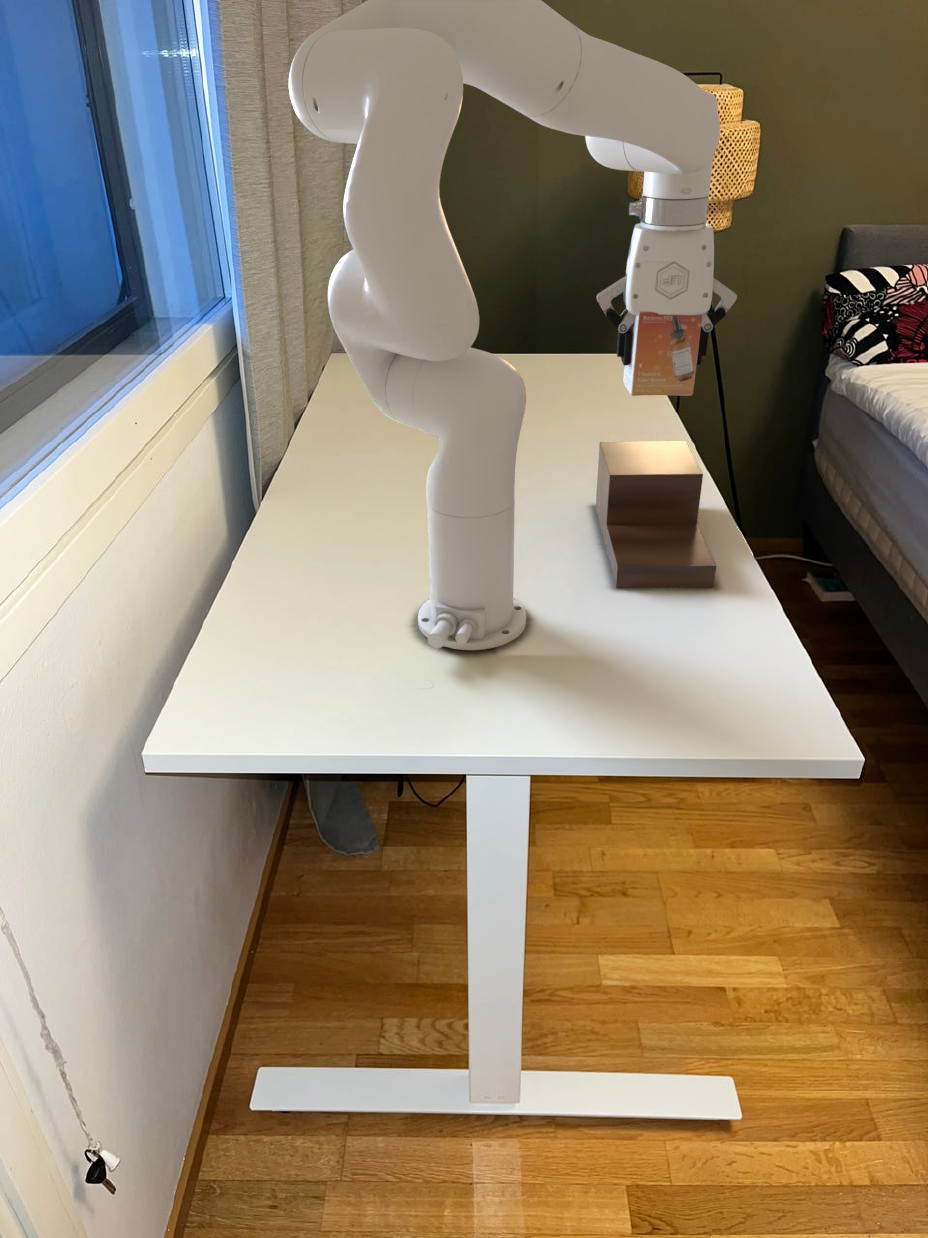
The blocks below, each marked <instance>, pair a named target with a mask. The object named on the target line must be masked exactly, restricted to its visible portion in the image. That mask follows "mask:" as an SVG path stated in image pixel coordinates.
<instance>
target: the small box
mask: <svg viewBox="0 0 928 1238" xmlns="http://www.w3.org/2000/svg"><path fill="white" fill-rule="evenodd" d="M701 323H702V314H701V315H659V314H658V313H655V312H644V311H639V314H638V316H635V321H634V323H633V324H632V325H631V327H630V332H631V334H632V340H631V354H630V364H628V365H624V368H623V380H622V383H623V385H624V387H625V389H626V390H627V391H628V393H629V395H630V396H631V397H638V396H639V397H640V396H684V397H685V396H686V397H688V396H689V397H690V396H693V394H694V389H695V382H696V381H695V380H696V372H697V365H696V364H697V356H698V348H699V339H700V331H701Z"/></svg>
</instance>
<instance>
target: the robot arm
mask: <svg viewBox="0 0 928 1238" xmlns="http://www.w3.org/2000/svg"><path fill="white" fill-rule="evenodd" d="M464 85H468V86H471V87H475V88H476V89H478V90H480V91H482V92H484V93H486V94H487V95H489V96H491V97H492V98H494V99H496V100H498V101H499V102H501V103H503V104H505V105H507V106H508V107H510V108H511V109H513V110H515V111H516V112H518V113H521V114H522V115H523V116H525V117H526V118H529V119H530V120H531V121H533V122H535V123H537V124H539V125H541V126H543V127H546V128H549V129H552V130H556V131H559V132H562V133H566V134H571V135H577V136H582V137H584V138H585V144H586V149H587V151H588V152H589V155H590V156H591V158H593V159H594V160H595V161H596V162H597V163H598V164H600V165H601V166H603V167H606V168H608V169H612V170H616V171H629V172H640V173H641V172H643V186H642V194H641V197H640V198H639V200H637V201H635V202H629V204H628V215H629V216H635V217H638V219H639V220H640V222H639V223H636V224H634V226H633V231H632V236H631V239H630V244H629V249H628V253H627V254H628V256H627V261H626V266H625V267H626V269H625V275H624V276H623V277H622V278H620V279H619V280H617V281H615V282H614V283H613V284H610V285H609V286H608V287H606V288H605V289H603V290H601V291H600V292H598V293H597V295H596V297H595V298H596V301H597V303H598V304H599V306H600V308H601V310H602V311H603V313H604V315H605V317H606V319H607V320H608V321H609V322H610V323H611V324H612V325H613V326H614V327H615V328H616V330H617V341H616V342H617V343H616V357H617V358H620V360H621V363H622V365H623V366H625V365H628V364H630V354H631V340H632V334H631V332H630V327H631V325H632V324H633V323H634V321H635V316H638V314H639V311H644V312H655V313H658V314H659V315H701V314H702V323H701V331H700V339H699V348H698V356H697V364H696V366H698V365H702V358H703V357H706V356H707V352H708V343H709V333H711V331H712V330H713V328H714V327H715V326H716V325H717V324H718V323H719V322H720V321H722V319H724V318H725V316H726V314H727V313H728V311H729V310H730V309H731V308H732V306H733V305H734V304H735V302H736V301H737V300H738V295H737V294H736V293H735V291H733V290H732V289H730V288H729V287H728V286H726V285H725V284H723V283H722V282H720V281H719V280H717V279H716V278H715V277H714V273H715V271H714V270H715V237H714V236H715V233H714V227H713V225H711V224H709V223H707V218H708V209H709V199H710V189H711V181H712V171H713V162H714V155H715V153H716V151H717V148H718V147H719V143H720V138H721V120H720V115H719V102H718V100H717V99H718V98H717V97H716V96H715V94H713V93H711V92H709V91H705V90H704V89H703V88H702V87H701V86H700V85H698V84H697V83H696V82H695V81H693V80H692V79H691V78H689V77H688V76H687V75H685V74H684V73H682V72H681V71H679V70H677V69H676V68H673V67H672V66H669V65H667V64H666V63H663V62H661V61H659V60H656V59H653V58H650V57H648V56H645V55H642V54H639V53H636V52H634V51H632V50H629V49H627V48H624V47H622V46H619V45H617V44H615V43H612V42H609V41H607V40H603V39H600V38H598V37H595V36H592V35H590V34H588V33H586V32H585V31H583V30H581V29H580V28H579V27H578V26H576V25H575V24H574V23H572V21H569V20H568V19H566V18H565V17H564V16H563V15H561V14H560V13H558V12H557V11H556V10H555V9H553V8H552V7H551V6H549V5H548V4H547V3H546V2H544V1H543V0H366V1H364V2H363V3H361V4H360V5H358V6H356V7H354V8H353V9H351V10H349V11H347V12H346V13H344V14H342V15H341V16H338V17H337V18H335V19H333V20H332V21H330V22H328V23H327V24H325V25H323V26H321V27H320V28H319V29H317V30H315V31H314V32H312V33H311V34H310V35H309V36H307V38H306V39H305V40H304V41H303V42H302V43H301V44H300V46H299V47H298V49H297V50H296V52H295V54H294V56H293V59H292V62H291V65H290V68H289V74H288V90H289V91H288V92H289V99H290V101H291V105H292V108H293V110H294V112H295V114H296V116H297V118H298V119H299V121H300V122H301V124H302V125H303V126H304V127H305V128H306V129H307V130H308V131H309V132H311V133H312V134H314V135H315V136H317V137H318V138H321V139H322V140H325V141H329V142H332V143H337V144H350V145H351V144H354V145H356V149H355V152H354V155H353V158H352V162H351V166H350V170H349V172H348V173H349V174H348V176H347V177H348V178H347V181H346V186H345V190H344V196H343V205H342V206H343V207H342V210H343V222H344V226H345V231H346V234H347V237H348V240H349V242H350V245H351V247H352V249H350V251H348V252H347V253H344V255H343V256H342V257H340V259H339V260H338V261H337V263H336V264H335V266H334V268H333V270H332V272H331V275H330V277H329V280H328V281H329V282H328V287H327V306H328V314H329V317H330V321H331V324H332V327H333V329H334V331H335V334H336V336H337V337H338V340H339V342H340V343H341V346H342V347H343V349H344V352H345V353H346V355H347V357H348V358H349V360H350V362H351V364H352V366H353V367H354V370H355V371H356V373H357V375H358V377H359V379H360V381H361V383H362V385H363V386H364V388H365V390H366V392H367V394H368V395H369V397H370V399H371V400H372V402H373V403H374V404H375V406H376V407H377V409H379V411H380V412H381V413H382V414H383V415H384V416H386V418H388V419H390V420H391V421H394V422H396V423H398V424H401V425H402V426H406V427H408V428H411V429H414V430H417V431H420V432H423V433H426V434H428V435H430V436H433V437H435V438H437V439H438V441H439V449H438V451H437V453H436V455H435V457H434V459H433V461H432V462H431V463H430V466H429V469H428V471H427V476H426V483H425V496H426V499H425V500H426V513H427V538H428V561H429V562H428V563H429V566H428V567H429V589H430V591H429V593H430V598H429V599H428V600H426V601H425V602H424V603H423V604H422V605H421V607H420V608H419V610H418V613H417V624H418V629H419V630H420V632H421V634H422V635H423V636H424V637H426V639H427V643H428V645H429V646H430V647H432V648H433V649H437V650H438V649H441V648H443V647H445V648H449V649H453V650H459V651H460V650H461V651H483V650H490V649H494V648H495V649H496V648H497V647H502V646H504V645H506V644H508V643H511V642H512V641H514V640H515V639H517V638H518V637H519V636H520V635H521V634H522V633H523V632H524V631H525V628H526V626H527V611H526V608H525V606H524V605H523V604H522V603H521V602H520V601H519V600H518V599H516V598H515V597H514V583H515V582H514V575H515V572H514V571H515V565H514V564H515V509H516V508H515V502H516V501H515V495H516V494H515V491H516V490H515V486H516V485H515V484H516V464H517V453H518V446H519V440H520V435H521V431H522V426H523V421H524V417H525V412H526V406H527V390H526V385H525V382H524V380H523V378H522V375H521V374H520V372H519V371H518V370H517V369H516V368H515V366H514V365H512V364H511V363H510V362H509V361H507V360H506V359H504V358H502V357H500V356H499V355H497V354H494V353H491V352H489V351H485V350H482V349H478V348H475V347H472V346H473V344H474V342H475V341H476V340H477V336H478V334H479V330H480V313H479V307H478V302H477V298H476V295H475V293H474V291H473V287H472V284H471V281H470V279H469V276H468V275H467V272H466V269H465V267H464V264H463V261H462V259H461V257H460V254H459V251H458V249H457V246H456V244H455V242H454V238H453V236H452V233H451V231H450V229H449V225H448V223H447V220H446V216H445V213H444V210H443V207H442V203H441V197H440V184H441V183H440V182H441V174H442V169H443V164H444V160H445V157H446V154H447V150H448V147H449V144H450V141H451V139H452V137H453V133H454V130H455V128H456V125H457V123H458V120H459V117H460V114H461V109H462V104H463V99H464V98H463V97H464ZM713 293H715V294H716V295H717V296H719V297H720V300H719V302H718V304H717V305H715V306H714V307H713V308H712V309H711V306H712V301H713V299H712V298H713ZM621 294H623V303H624V305H625V308H624V310H623V311H622V312H621V314H619V312H618V311H617V310H616V309H615V308H614V307H613V305H612V301H613V299H615V298H616V297H618V296H619V295H621ZM710 309H711V310H710Z"/></svg>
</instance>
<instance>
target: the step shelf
mask: <svg viewBox="0 0 928 1238" xmlns="http://www.w3.org/2000/svg"><path fill="white" fill-rule="evenodd" d="M597 461H598V463H597V478H596V479H597V480H596V495H595V510H596V513H597V517H598V522H599V525H600V530H601V534H602V538H603V541H604V544H605V550H606V554H607V558H608V563H609V565H610V569H611V573H612V577H613V581H614V585H615V589H644V588H645V589H646V588H647V589H650V588H653V589H655V588H657V589H659V588H667V589H668V588H669V589H670V588H671V589H672V588H714V585H715V581H716V580H715V579H716V572H717V565H716V562H715V560H714V557H713V556H712V553H711V550H710V549H709V547H708V545H707V542H706V540H705V537H704V536H703V534H702V533H703V532H702V531H701V529H700V527H699V525H698V519H699V512H700V511H699V510H700V503H701V502H700V501H701V495H702V486H703V478H704V473H703V471H702V469H701V467H700V465H699V464H698V462H697V460H696V458H695V456H694V454H693V452H692V450H691V448H690V446H689V444H688V443H687V440H655V441H650V440H649V441H646V440H645V441H644V440H643V441H642V440H641V441H599V447H598V460H597Z"/></svg>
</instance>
